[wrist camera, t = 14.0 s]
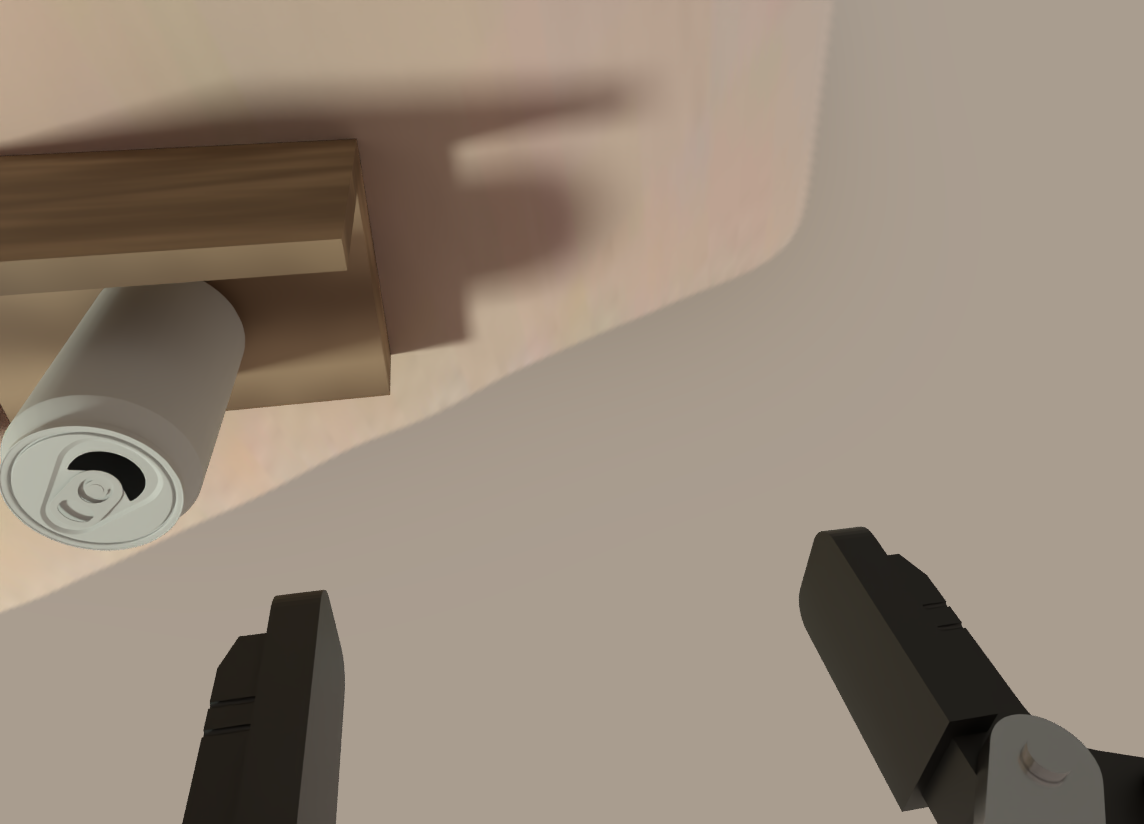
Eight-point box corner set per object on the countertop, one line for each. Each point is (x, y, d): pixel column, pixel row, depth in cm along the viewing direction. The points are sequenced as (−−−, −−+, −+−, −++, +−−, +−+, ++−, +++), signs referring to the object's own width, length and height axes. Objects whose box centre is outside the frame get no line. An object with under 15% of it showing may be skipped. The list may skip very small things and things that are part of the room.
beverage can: (276, 322, 37) (233, 484, 27) (194, 404, 38) (127, 585, 29) (151, 232, 33) (51, 383, 24) (67, 327, 35) (-57, 503, 25)
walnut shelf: (-64, 159, 34) (-247, 278, 24) (356, 139, 36) (341, 239, 27) (45, 386, 41) (-64, 548, 31) (390, 355, 43) (388, 496, 34)
